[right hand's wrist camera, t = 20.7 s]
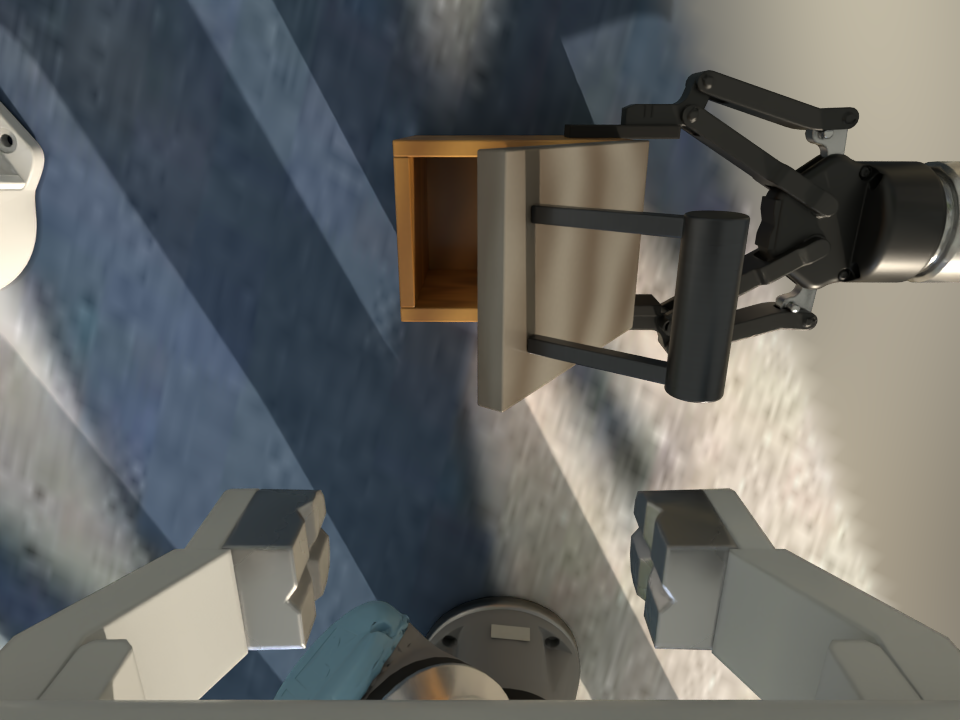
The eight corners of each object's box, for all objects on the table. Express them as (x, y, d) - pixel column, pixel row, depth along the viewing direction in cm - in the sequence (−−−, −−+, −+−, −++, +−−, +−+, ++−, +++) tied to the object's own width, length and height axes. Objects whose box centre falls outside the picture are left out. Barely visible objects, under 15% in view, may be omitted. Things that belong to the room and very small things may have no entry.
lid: (476, 405, 26) (696, 471, 21) (476, 149, 23) (741, 157, 18) (612, 324, 37) (780, 355, 32) (626, 139, 33) (818, 143, 28)
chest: (419, 278, 48) (400, 321, 37) (413, 135, 44) (392, 139, 34) (590, 278, 48) (620, 322, 37) (599, 135, 44) (635, 139, 34)
